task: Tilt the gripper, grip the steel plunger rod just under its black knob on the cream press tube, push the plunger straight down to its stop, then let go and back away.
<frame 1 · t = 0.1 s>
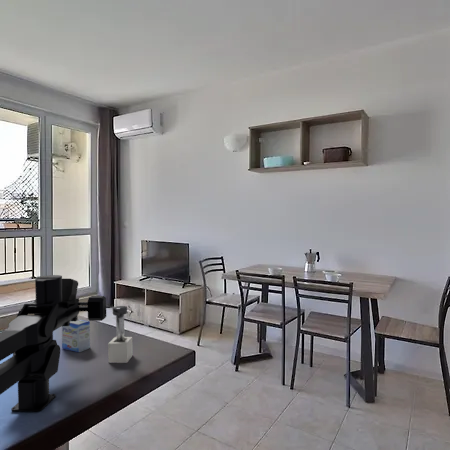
hand: (84, 300, 101), 17 cm above the table, tool horizontal, fingers open, 9 cm apart
medicine box: (76, 349, 108), on the table
press block: (120, 359, 100), on the table
plunger: (120, 325, 99), point 10 cm above the table, slide at 0.0 cm
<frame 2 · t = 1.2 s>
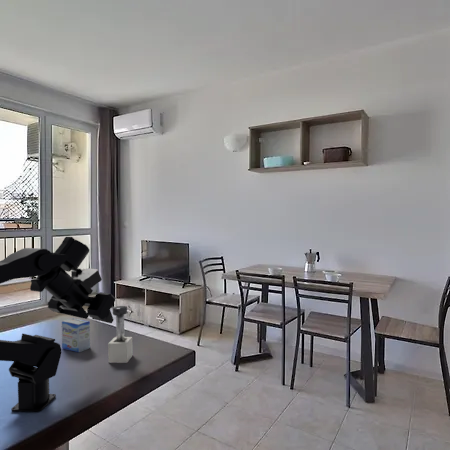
hand: (99, 319, 93), 14 cm above the table, tool tilted 45°, fingers open, 9 cm apart
nothing on the table moved.
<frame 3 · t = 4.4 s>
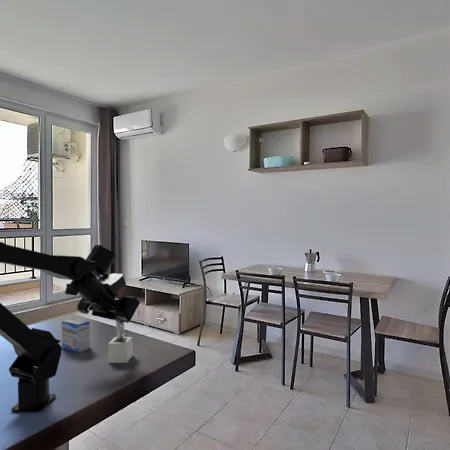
hand: (123, 320, 101), 11 cm above the table, tool tilted 45°, fingers closed on plunger, 4 cm apart
plunger: (120, 325, 99), point 10 cm above the table, slide at 0.0 cm, touching gripper
everything else where it was.
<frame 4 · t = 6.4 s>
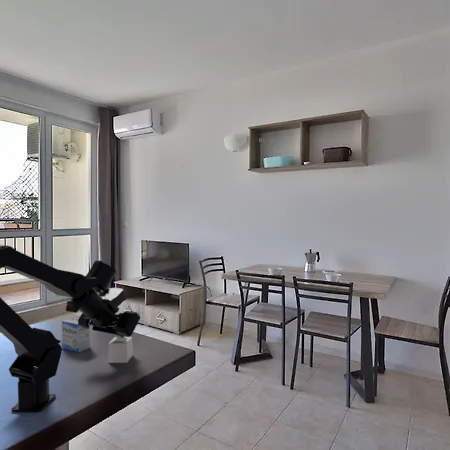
hand: (124, 334, 101), 7 cm above the table, tool tilted 45°, fingers closed on plunger, 4 cm apart
plunger: (120, 339, 99), point 6 cm above the table, slide at 4.1 cm, touching gripper
everything else where it was.
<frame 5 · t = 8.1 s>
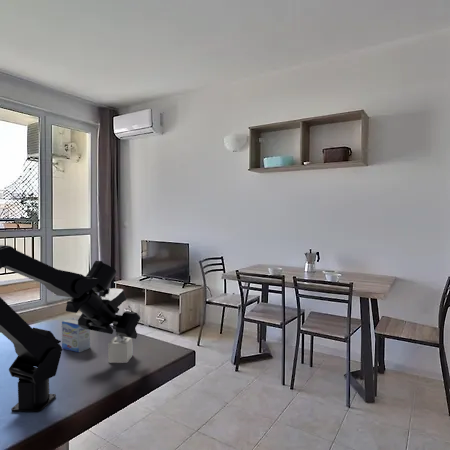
hand: (124, 334, 101), 7 cm above the table, tool tilted 45°, fingers open, 9 cm apart
plunger: (120, 339, 99), point 6 cm above the table, slide at 4.1 cm
everything else where it was.
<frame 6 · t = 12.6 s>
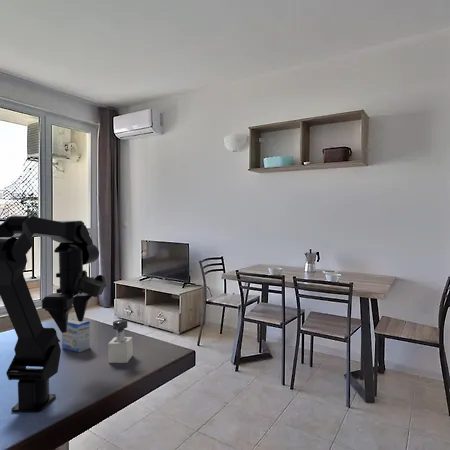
hand: (72, 326, 92), 12 cm above the table, tool pointing down, fingers open, 9 cm apart
nothing on the table moved.
at the end: plunger slide at 4.1 cm; the gripper is holding nothing; medicine box moved 0.3 cm from its start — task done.
